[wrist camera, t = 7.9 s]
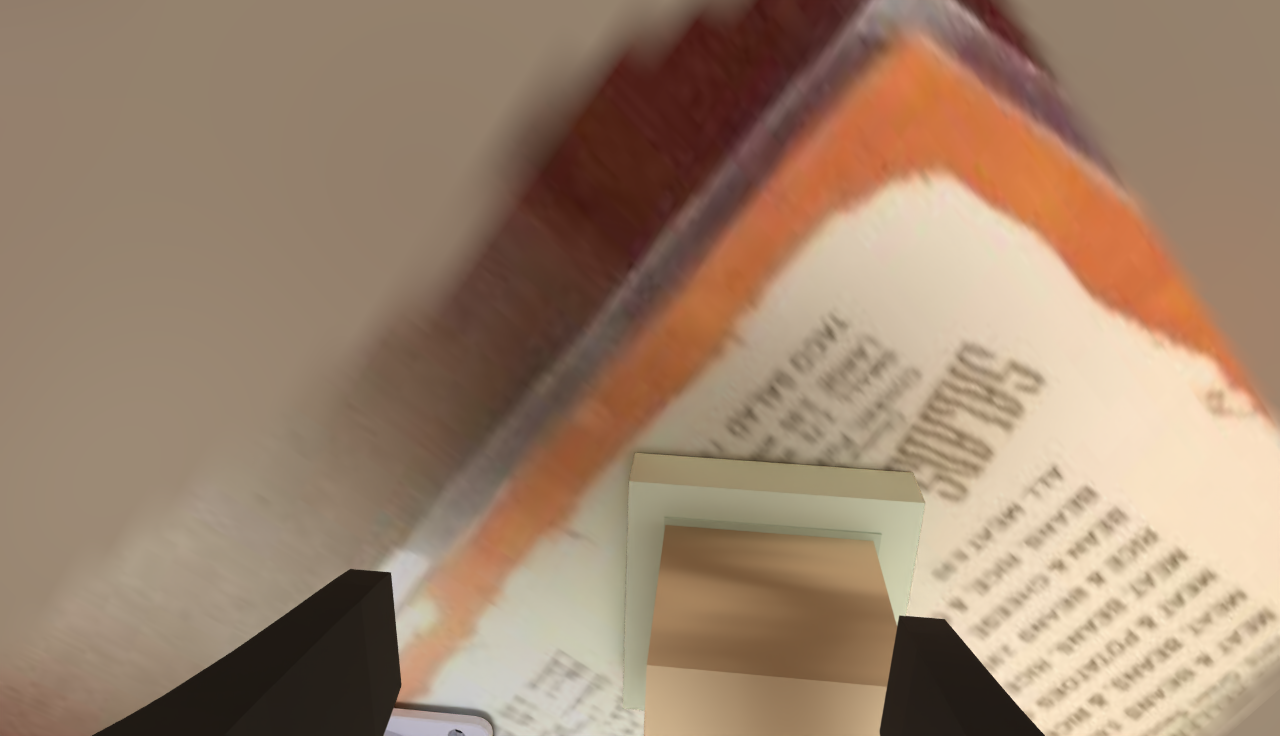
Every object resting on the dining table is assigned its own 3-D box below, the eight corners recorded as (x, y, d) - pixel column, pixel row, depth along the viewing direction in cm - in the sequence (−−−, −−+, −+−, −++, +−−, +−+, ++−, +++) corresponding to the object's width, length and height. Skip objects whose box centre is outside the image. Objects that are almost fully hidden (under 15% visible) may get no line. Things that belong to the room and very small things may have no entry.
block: (657, 686, 23) (639, 853, 18) (665, 524, 21) (646, 665, 16) (848, 704, 23) (879, 879, 18) (873, 540, 21) (914, 689, 16)
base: (628, 670, 25) (622, 710, 23) (635, 452, 22) (628, 482, 21) (876, 693, 24) (885, 735, 23) (912, 472, 22) (926, 504, 20)
